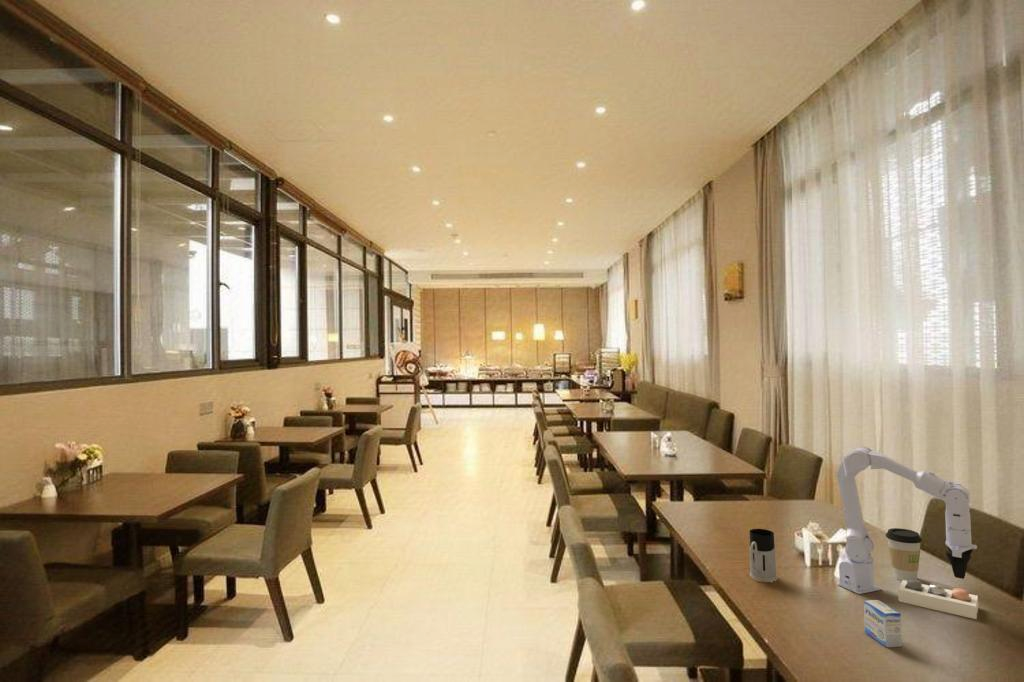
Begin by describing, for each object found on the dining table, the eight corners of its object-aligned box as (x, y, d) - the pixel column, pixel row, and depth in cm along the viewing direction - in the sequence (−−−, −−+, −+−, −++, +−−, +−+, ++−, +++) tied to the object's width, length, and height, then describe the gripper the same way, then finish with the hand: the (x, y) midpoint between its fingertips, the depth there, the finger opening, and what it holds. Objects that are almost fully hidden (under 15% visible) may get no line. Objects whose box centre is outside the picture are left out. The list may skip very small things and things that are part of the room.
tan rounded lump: (952, 601, 161) (952, 591, 161) (953, 597, 164) (953, 586, 164) (968, 605, 159) (968, 594, 159) (969, 600, 161) (969, 590, 162)
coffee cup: (930, 585, 178) (928, 537, 178) (895, 583, 180) (893, 536, 180) (914, 573, 188) (912, 528, 188) (881, 571, 190) (880, 527, 190)
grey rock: (929, 596, 165) (928, 586, 165) (930, 592, 168) (930, 582, 168) (944, 599, 163) (944, 589, 163) (945, 595, 165) (945, 585, 165)
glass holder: (781, 576, 188) (779, 531, 188) (766, 590, 178) (764, 542, 178) (754, 570, 194) (753, 526, 194) (738, 583, 184) (737, 537, 184)
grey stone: (906, 591, 169) (906, 581, 169) (908, 587, 171) (907, 577, 171) (921, 594, 166) (920, 584, 166) (922, 590, 169) (922, 580, 169)
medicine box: (864, 632, 150) (862, 600, 150) (879, 631, 151) (878, 599, 151) (886, 648, 142) (884, 613, 142) (902, 647, 143) (901, 612, 143)
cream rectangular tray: (898, 601, 168) (898, 589, 168) (903, 591, 174) (902, 579, 174) (976, 619, 156) (975, 606, 156) (978, 607, 162) (977, 595, 162)
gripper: (974, 537, 154) (976, 587, 153) (977, 524, 164) (979, 570, 164) (942, 532, 158) (944, 580, 158) (947, 519, 169) (949, 565, 169)
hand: (960, 575), depth 162 cm, fingers open, 4 cm apart
